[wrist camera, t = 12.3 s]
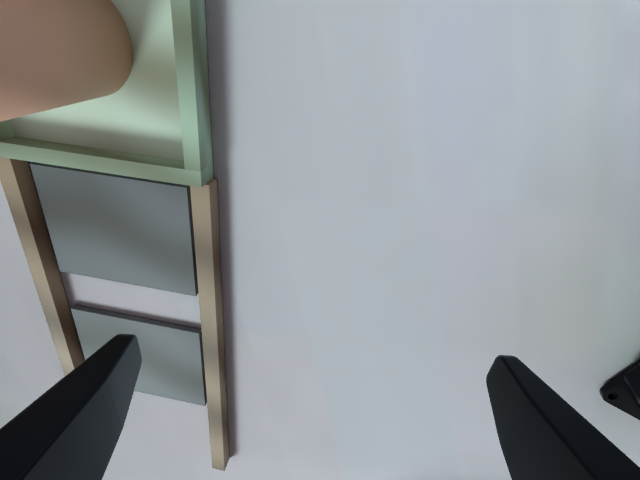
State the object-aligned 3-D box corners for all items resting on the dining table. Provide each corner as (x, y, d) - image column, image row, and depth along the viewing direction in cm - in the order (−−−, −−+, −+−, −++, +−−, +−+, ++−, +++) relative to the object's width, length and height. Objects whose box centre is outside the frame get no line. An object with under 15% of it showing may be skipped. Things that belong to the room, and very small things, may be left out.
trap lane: (229, 458, 32) (222, 475, 31) (93, 427, 33) (81, 442, 32) (204, -118, 15) (186, -131, 13) (-79, -136, 16) (-118, -149, 15)
